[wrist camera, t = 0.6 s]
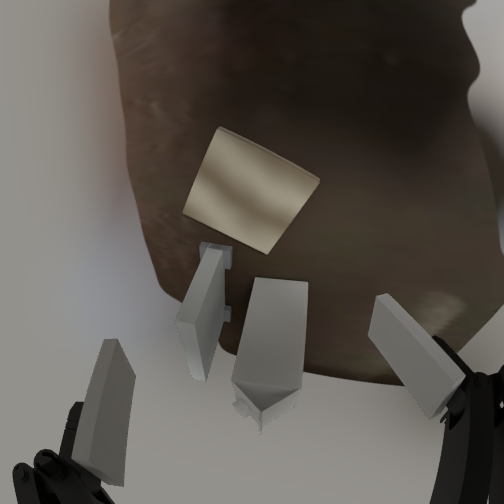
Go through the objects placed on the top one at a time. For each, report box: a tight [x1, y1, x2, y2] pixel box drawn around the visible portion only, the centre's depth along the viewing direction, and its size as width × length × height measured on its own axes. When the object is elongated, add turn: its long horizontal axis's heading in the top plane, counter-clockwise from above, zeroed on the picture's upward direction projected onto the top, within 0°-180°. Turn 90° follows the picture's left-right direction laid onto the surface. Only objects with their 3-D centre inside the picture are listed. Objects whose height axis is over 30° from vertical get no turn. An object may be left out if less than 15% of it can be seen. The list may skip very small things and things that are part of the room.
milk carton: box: [231, 277, 308, 435], centre depth 31 cm, size 7×7×19 cm
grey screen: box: [175, 242, 233, 382], centre depth 34 cm, size 15×4×12 cm, turn 176°
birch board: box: [182, 126, 320, 254], centre depth 28 cm, size 11×11×1 cm
